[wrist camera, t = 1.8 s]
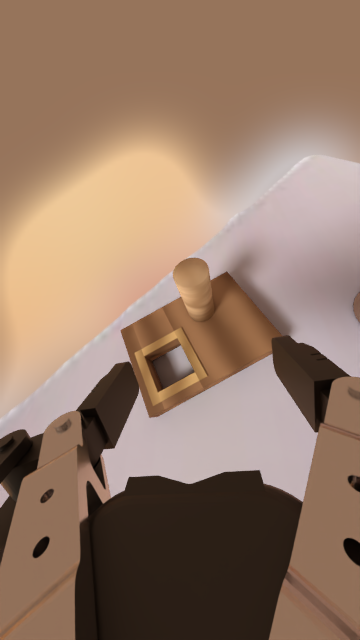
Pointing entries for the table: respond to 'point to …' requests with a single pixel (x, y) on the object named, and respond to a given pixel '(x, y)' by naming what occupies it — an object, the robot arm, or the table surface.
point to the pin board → (198, 344)
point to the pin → (195, 288)
